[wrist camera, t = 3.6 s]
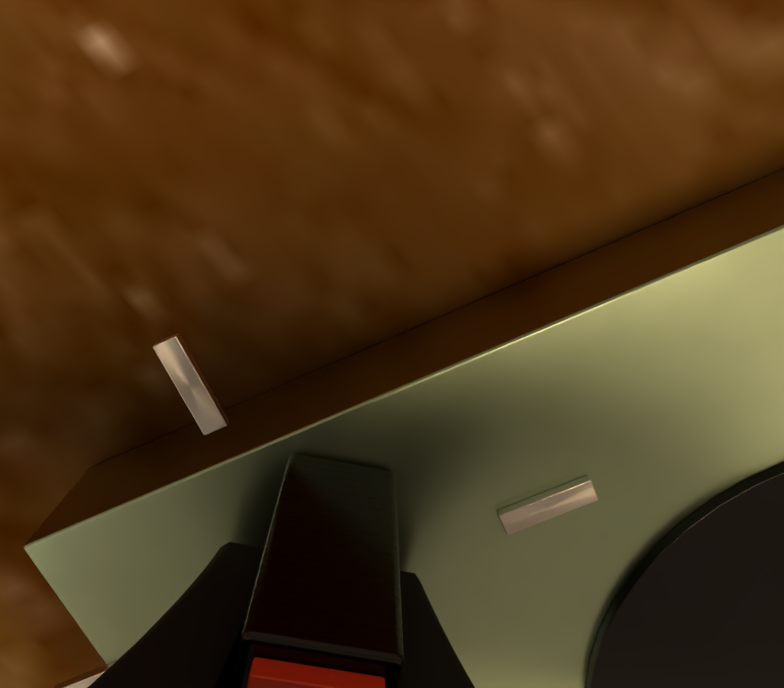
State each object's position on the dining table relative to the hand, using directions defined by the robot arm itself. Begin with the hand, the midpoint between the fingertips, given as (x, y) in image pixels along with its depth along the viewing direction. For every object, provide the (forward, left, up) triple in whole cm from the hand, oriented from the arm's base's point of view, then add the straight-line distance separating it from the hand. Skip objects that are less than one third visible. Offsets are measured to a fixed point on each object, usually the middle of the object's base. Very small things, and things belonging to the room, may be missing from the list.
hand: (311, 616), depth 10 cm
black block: (0, 0, 0) cm, 0 cm away
